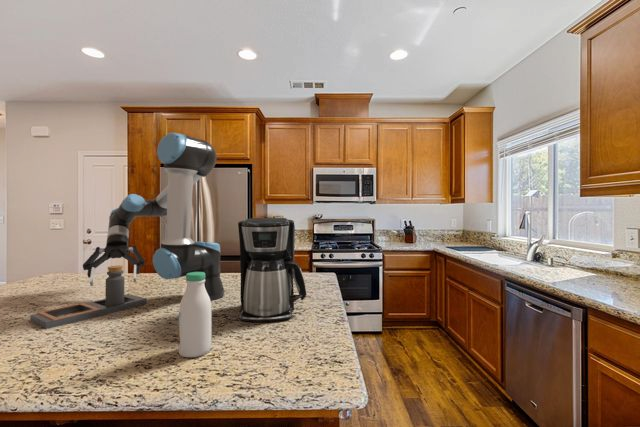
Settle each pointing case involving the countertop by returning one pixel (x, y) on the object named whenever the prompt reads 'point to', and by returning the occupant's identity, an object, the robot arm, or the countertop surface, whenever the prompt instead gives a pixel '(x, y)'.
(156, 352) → the countertop surface
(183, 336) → the milk bottle
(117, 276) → the bottle
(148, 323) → the countertop surface
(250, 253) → the coffee maker
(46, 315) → the rail
